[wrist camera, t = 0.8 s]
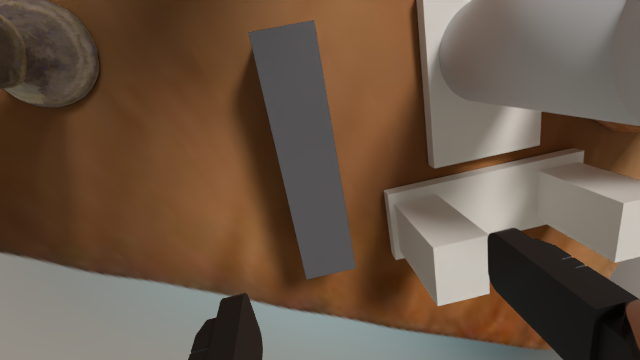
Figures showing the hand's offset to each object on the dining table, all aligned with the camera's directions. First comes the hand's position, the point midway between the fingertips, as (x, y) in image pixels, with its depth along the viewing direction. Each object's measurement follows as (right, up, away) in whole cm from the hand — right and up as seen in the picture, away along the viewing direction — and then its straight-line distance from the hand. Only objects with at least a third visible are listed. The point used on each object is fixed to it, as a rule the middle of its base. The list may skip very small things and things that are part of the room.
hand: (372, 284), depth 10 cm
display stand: (+13, +8, +18) cm, 24 cm away
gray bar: (-3, +6, +17) cm, 19 cm away
